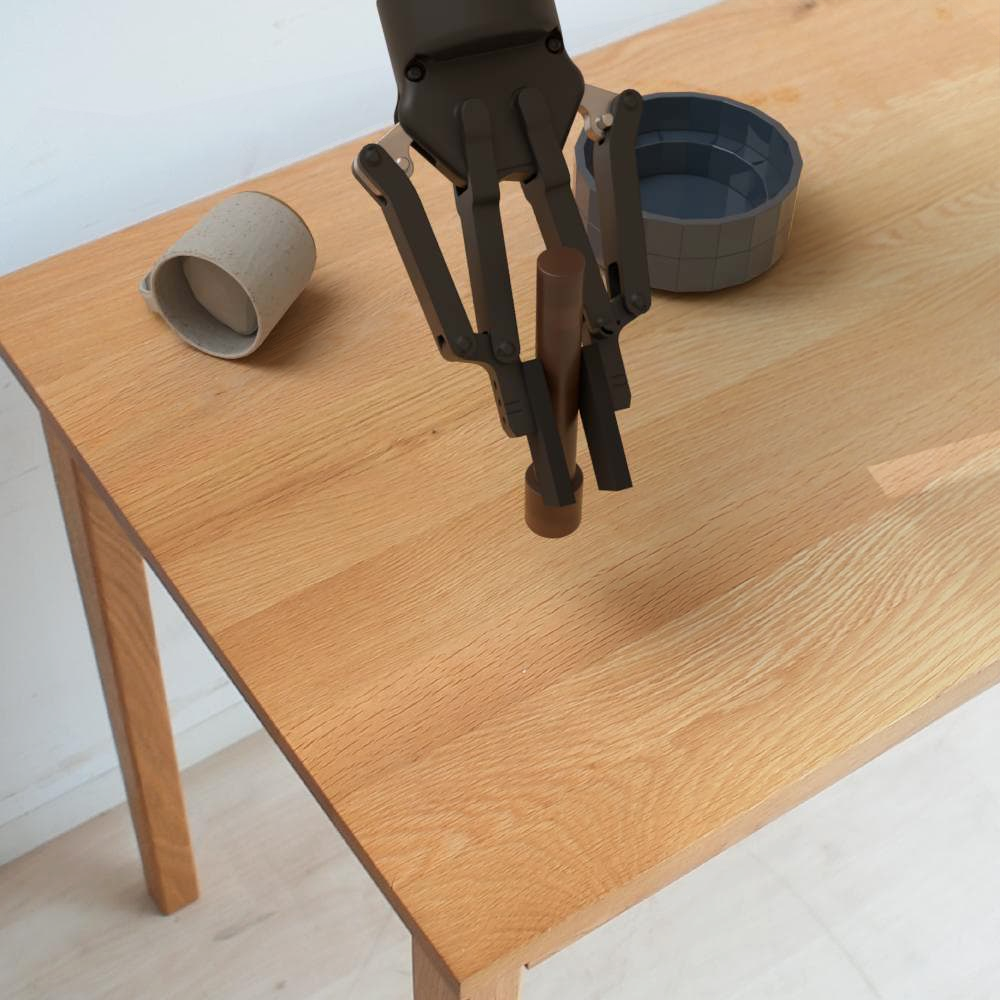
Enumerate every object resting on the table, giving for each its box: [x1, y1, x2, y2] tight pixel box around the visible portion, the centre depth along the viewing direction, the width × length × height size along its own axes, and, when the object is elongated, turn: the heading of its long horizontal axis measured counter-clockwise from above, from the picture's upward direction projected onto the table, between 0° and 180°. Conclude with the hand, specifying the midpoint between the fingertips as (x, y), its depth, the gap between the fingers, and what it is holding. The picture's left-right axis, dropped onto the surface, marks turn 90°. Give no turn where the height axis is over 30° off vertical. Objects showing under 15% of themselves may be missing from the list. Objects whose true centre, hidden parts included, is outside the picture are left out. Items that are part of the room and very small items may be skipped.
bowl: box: [571, 91, 804, 293], centre depth 93 cm, size 14×14×6 cm
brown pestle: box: [524, 246, 585, 540], centre depth 65 cm, size 3×3×16 cm
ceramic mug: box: [138, 190, 318, 360], centre depth 87 cm, size 11×8×8 cm
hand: (587, 495), depth 64 cm, fingers closed on brown pestle, 2 cm apart
